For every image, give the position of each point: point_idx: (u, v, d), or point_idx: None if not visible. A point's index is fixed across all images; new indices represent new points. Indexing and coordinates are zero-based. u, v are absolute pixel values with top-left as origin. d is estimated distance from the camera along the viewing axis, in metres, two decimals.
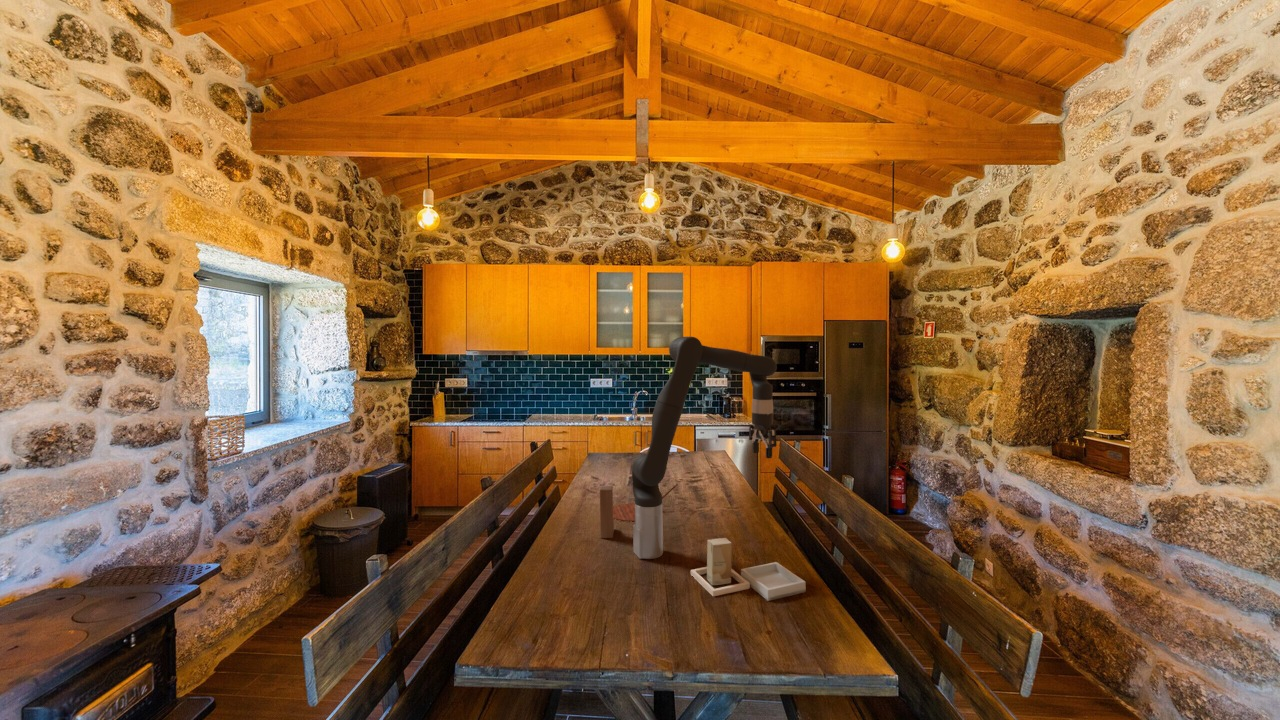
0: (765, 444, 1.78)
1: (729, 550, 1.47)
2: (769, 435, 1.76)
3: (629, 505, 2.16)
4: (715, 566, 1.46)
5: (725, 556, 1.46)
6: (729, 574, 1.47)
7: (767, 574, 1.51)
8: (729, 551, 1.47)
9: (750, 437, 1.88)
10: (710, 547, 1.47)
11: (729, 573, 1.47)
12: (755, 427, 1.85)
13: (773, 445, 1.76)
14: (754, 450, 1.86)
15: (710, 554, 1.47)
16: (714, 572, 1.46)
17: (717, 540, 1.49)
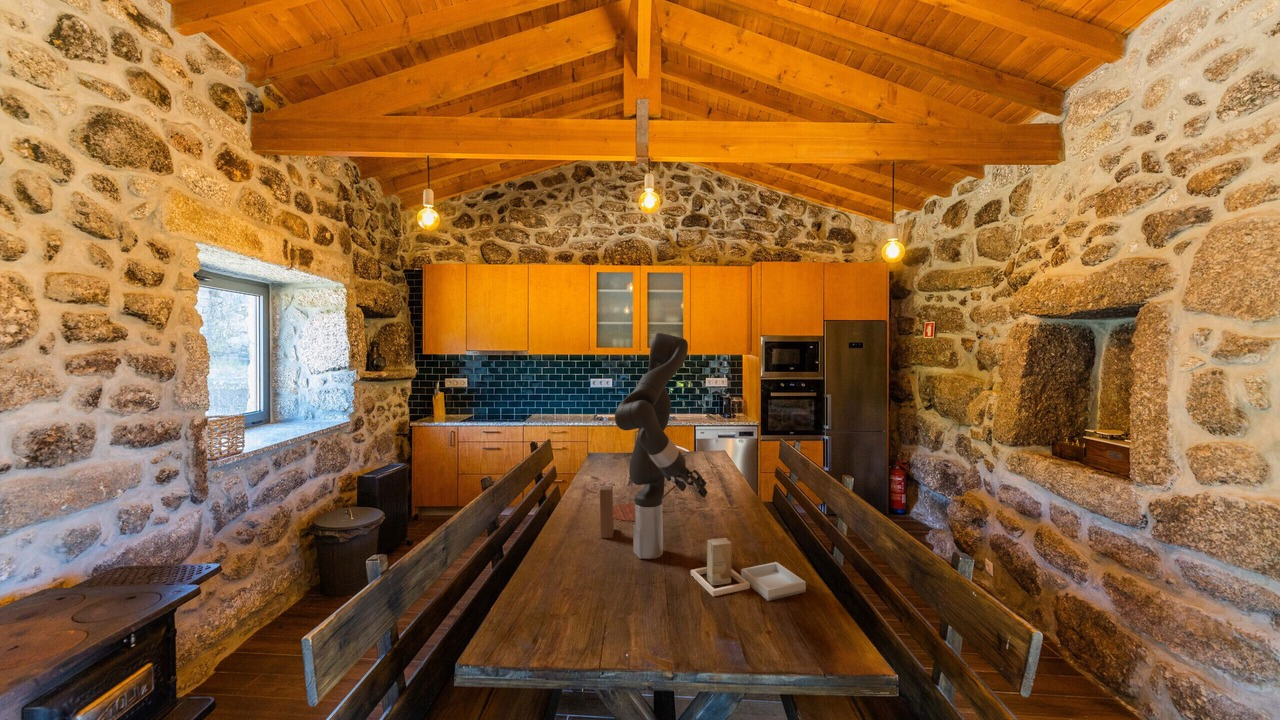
0: None
1: (729, 550, 1.47)
2: None
3: (629, 505, 2.16)
4: (715, 566, 1.46)
5: (725, 556, 1.46)
6: (729, 574, 1.47)
7: (767, 574, 1.51)
8: (729, 551, 1.47)
9: None
10: (710, 547, 1.47)
11: (729, 573, 1.47)
12: None
13: None
14: None
15: (710, 554, 1.47)
16: (714, 572, 1.46)
17: (717, 540, 1.49)
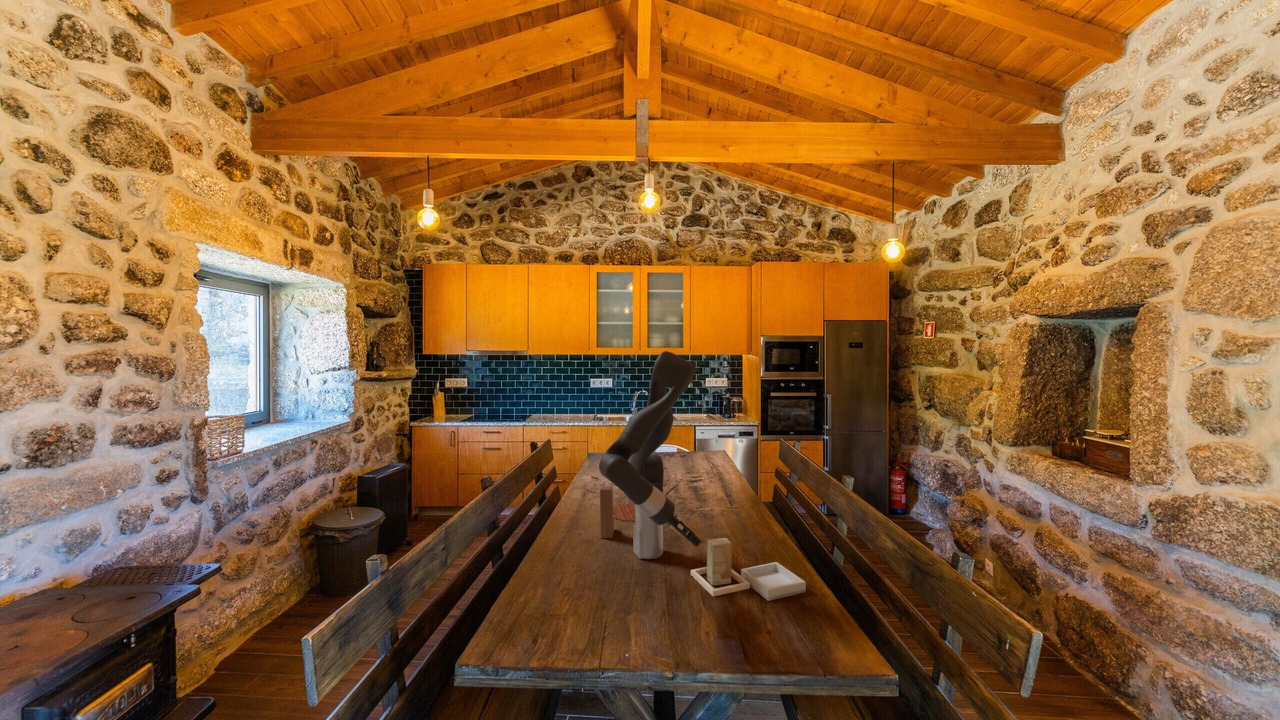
0: None
1: (729, 550, 1.47)
2: None
3: (629, 505, 2.16)
4: (715, 566, 1.46)
5: (725, 556, 1.46)
6: (729, 574, 1.47)
7: (767, 574, 1.51)
8: (729, 551, 1.47)
9: None
10: (710, 547, 1.47)
11: (729, 573, 1.47)
12: (676, 518, 1.40)
13: None
14: None
15: (710, 554, 1.47)
16: (714, 572, 1.46)
17: (717, 540, 1.49)
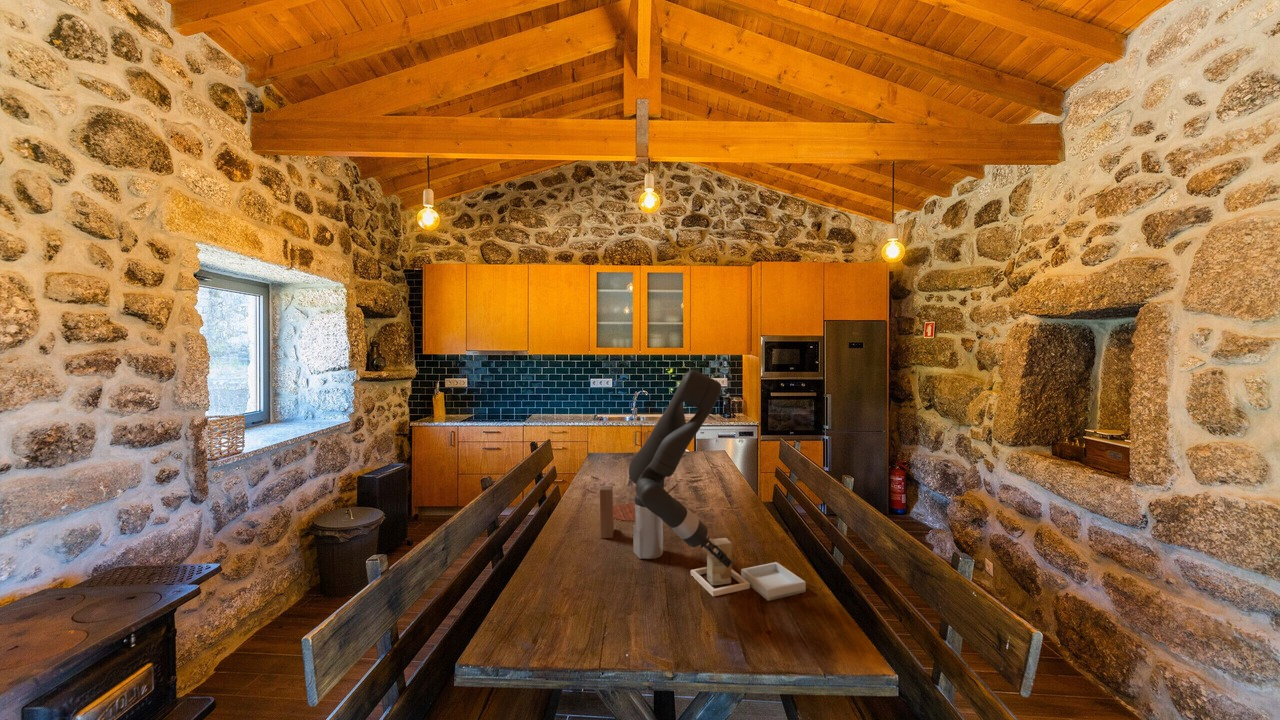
0: None
1: (729, 550, 1.47)
2: None
3: (629, 505, 2.16)
4: (715, 566, 1.46)
5: None
6: (729, 574, 1.47)
7: (767, 574, 1.51)
8: (729, 551, 1.47)
9: None
10: None
11: (729, 573, 1.47)
12: (709, 540, 1.43)
13: None
14: None
15: None
16: (714, 572, 1.46)
17: (717, 540, 1.48)
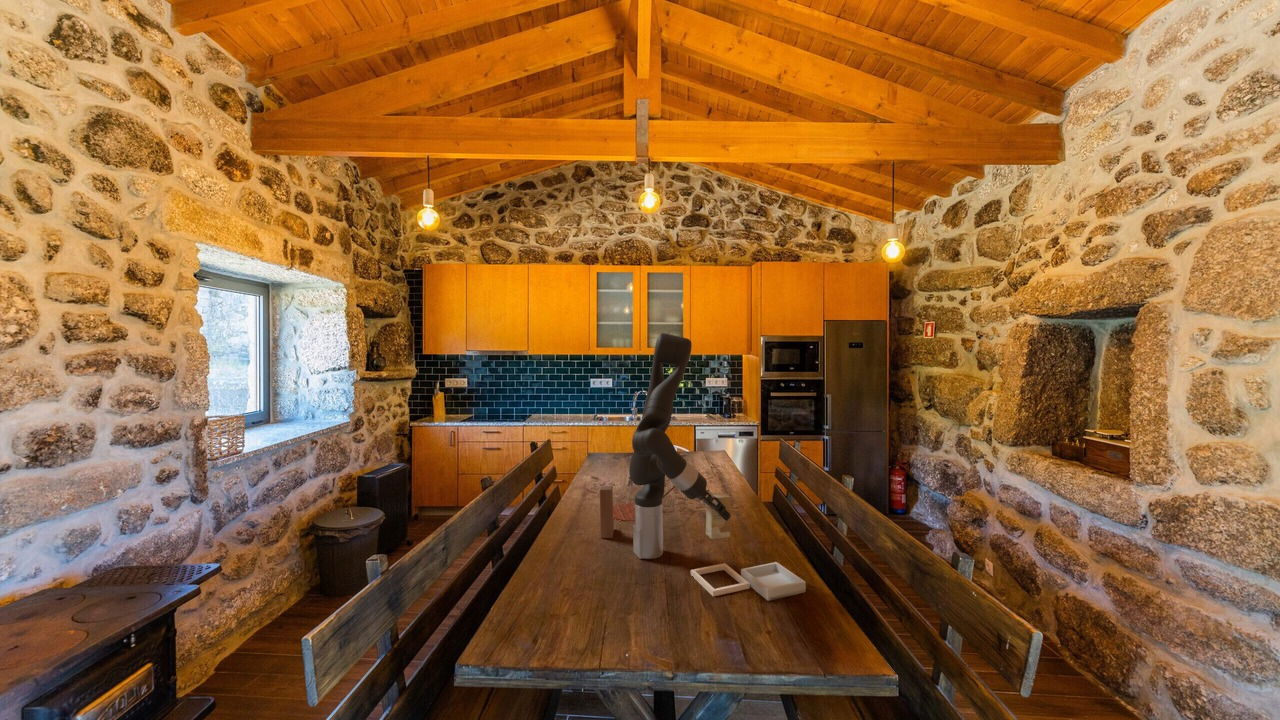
0: None
1: (729, 504, 1.46)
2: None
3: (629, 505, 2.16)
4: (714, 519, 1.45)
5: None
6: (728, 528, 1.46)
7: (767, 574, 1.51)
8: (728, 505, 1.46)
9: None
10: None
11: (728, 527, 1.46)
12: (708, 492, 1.43)
13: None
14: None
15: None
16: (713, 525, 1.45)
17: (716, 494, 1.48)
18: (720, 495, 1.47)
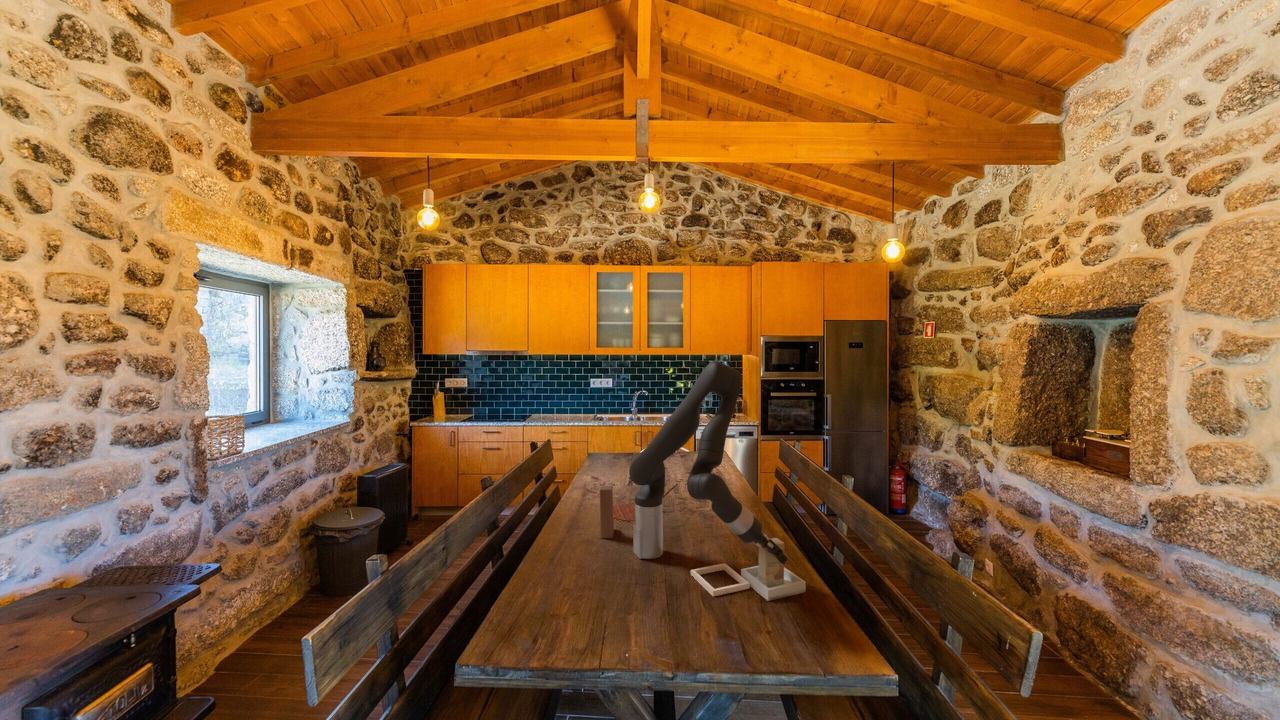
0: None
1: None
2: None
3: (629, 505, 2.16)
4: (768, 567, 1.43)
5: None
6: (782, 575, 1.44)
7: None
8: None
9: (779, 548, 1.39)
10: None
11: (782, 574, 1.44)
12: (763, 535, 1.41)
13: None
14: None
15: (763, 555, 1.44)
16: (768, 573, 1.43)
17: None
18: (773, 541, 1.45)
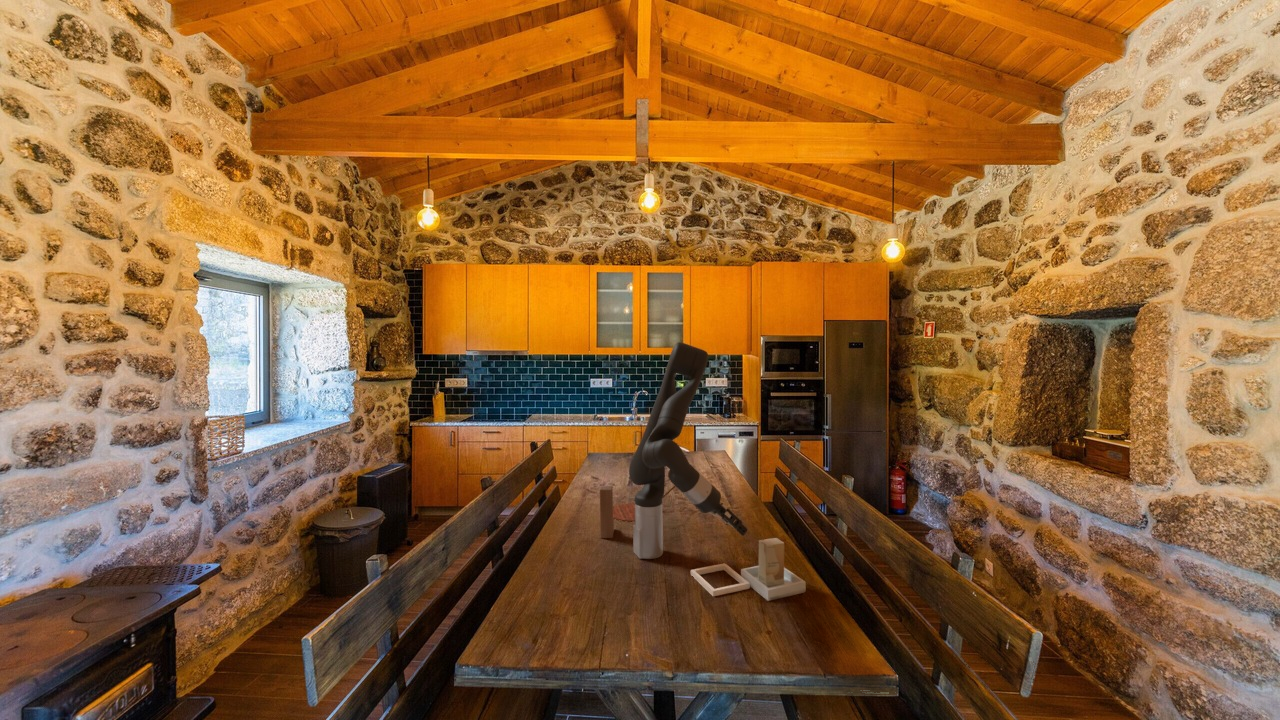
0: None
1: (782, 550, 1.44)
2: None
3: (629, 505, 2.16)
4: (768, 567, 1.43)
5: (778, 556, 1.44)
6: (782, 575, 1.44)
7: None
8: (782, 551, 1.44)
9: (738, 519, 1.34)
10: (763, 548, 1.44)
11: (782, 574, 1.44)
12: (722, 506, 1.36)
13: None
14: None
15: (763, 555, 1.44)
16: (768, 573, 1.43)
17: (769, 540, 1.46)
18: (773, 541, 1.45)
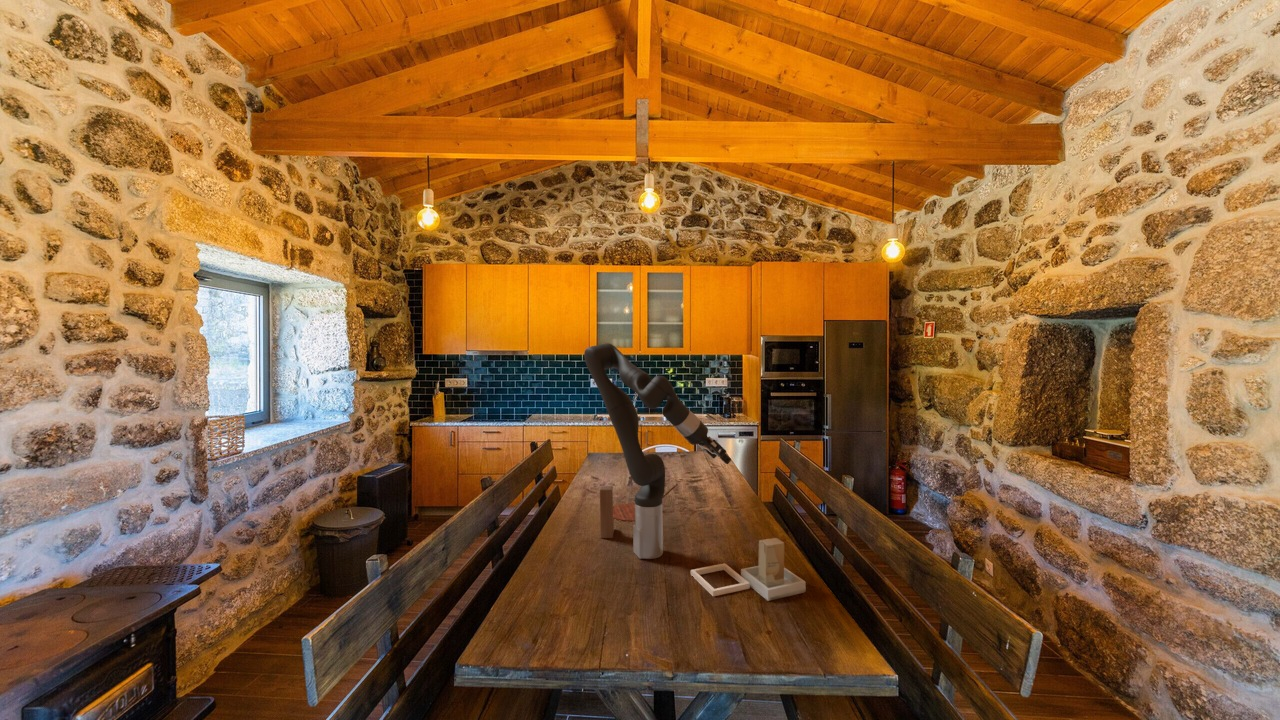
0: None
1: (782, 550, 1.44)
2: None
3: (629, 505, 2.16)
4: (768, 567, 1.43)
5: (778, 556, 1.44)
6: (782, 575, 1.44)
7: None
8: (782, 551, 1.44)
9: None
10: (762, 548, 1.44)
11: (782, 574, 1.44)
12: None
13: None
14: None
15: (763, 555, 1.44)
16: (768, 573, 1.43)
17: (769, 540, 1.46)
18: (773, 541, 1.45)
